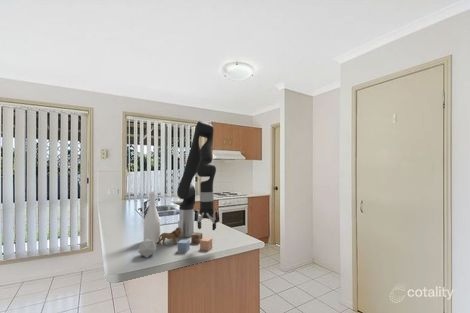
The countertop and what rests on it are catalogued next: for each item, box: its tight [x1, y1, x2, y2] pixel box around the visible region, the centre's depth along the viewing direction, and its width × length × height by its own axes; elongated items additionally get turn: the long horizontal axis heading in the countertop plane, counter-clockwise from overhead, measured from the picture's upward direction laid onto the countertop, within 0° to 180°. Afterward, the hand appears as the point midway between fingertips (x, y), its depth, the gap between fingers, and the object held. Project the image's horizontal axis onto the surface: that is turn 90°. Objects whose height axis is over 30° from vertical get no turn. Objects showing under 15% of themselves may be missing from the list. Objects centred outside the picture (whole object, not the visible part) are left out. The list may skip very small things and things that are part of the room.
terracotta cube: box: [199, 237, 213, 251], centre depth 132 cm, size 5×5×5 cm
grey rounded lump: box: [137, 239, 157, 258], centre depth 122 cm, size 8×9×10 cm
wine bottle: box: [143, 190, 161, 244], centre depth 144 cm, size 10×10×30 cm
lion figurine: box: [155, 226, 182, 246], centre depth 139 cm, size 15×5×9 cm, turn 116°
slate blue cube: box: [177, 239, 191, 253], centre depth 128 cm, size 5×5×5 cm
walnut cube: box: [190, 232, 203, 245], centre depth 142 cm, size 5×5×5 cm
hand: (206, 229), depth 132 cm, fingers open, 8 cm apart
